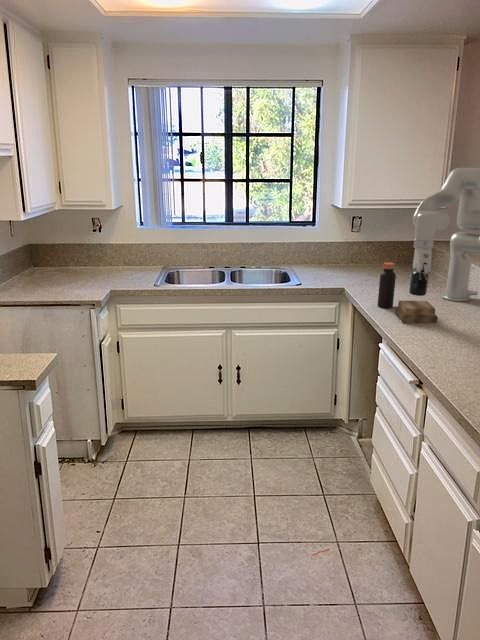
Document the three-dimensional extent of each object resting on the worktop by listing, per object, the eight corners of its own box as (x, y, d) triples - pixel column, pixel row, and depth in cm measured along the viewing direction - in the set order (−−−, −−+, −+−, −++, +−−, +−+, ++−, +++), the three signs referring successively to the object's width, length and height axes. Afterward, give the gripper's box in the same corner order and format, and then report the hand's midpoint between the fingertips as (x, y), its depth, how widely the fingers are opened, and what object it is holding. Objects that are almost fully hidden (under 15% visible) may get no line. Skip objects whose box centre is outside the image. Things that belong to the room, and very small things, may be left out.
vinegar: (382, 309, 233) (386, 265, 227) (374, 304, 239) (378, 262, 233) (395, 307, 235) (400, 264, 228) (387, 303, 241) (391, 261, 235)
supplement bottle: (415, 296, 213) (418, 267, 209) (405, 292, 219) (409, 264, 215) (429, 295, 215) (433, 267, 211) (420, 291, 221) (423, 263, 217)
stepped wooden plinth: (427, 313, 227) (428, 300, 225) (436, 323, 213) (438, 309, 211) (394, 313, 227) (395, 299, 225) (402, 323, 214) (403, 309, 212)
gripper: (439, 248, 202) (434, 292, 208) (426, 240, 219) (421, 281, 224) (420, 247, 202) (415, 292, 208) (408, 240, 219) (404, 281, 224)
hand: (418, 286), depth 216 cm, fingers closed on supplement bottle, 6 cm apart
